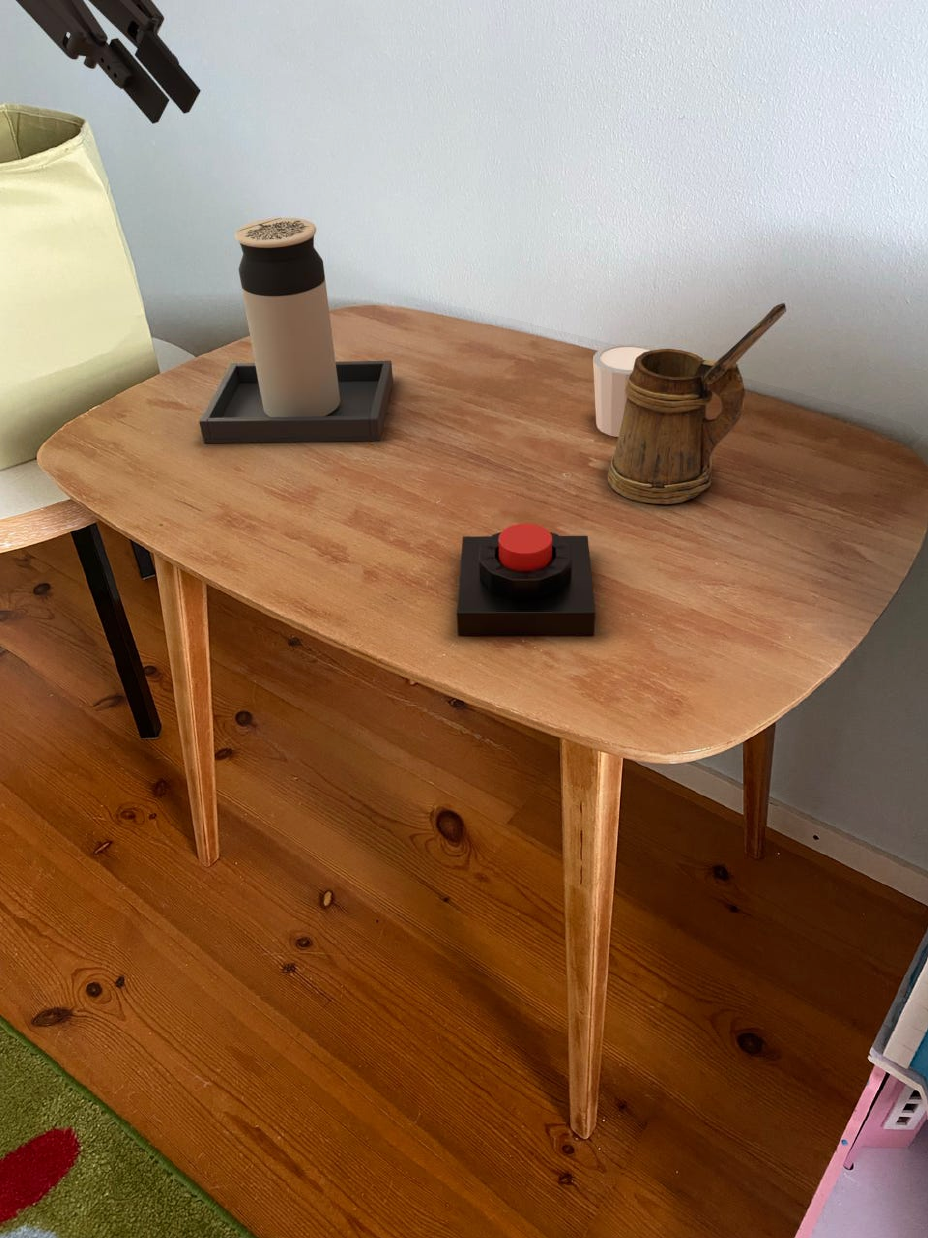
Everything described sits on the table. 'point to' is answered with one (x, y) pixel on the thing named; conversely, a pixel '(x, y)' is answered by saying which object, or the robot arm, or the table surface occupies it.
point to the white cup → (613, 384)
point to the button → (525, 547)
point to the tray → (245, 421)
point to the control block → (525, 591)
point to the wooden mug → (677, 420)
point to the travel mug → (288, 317)
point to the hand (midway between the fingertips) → (176, 106)
